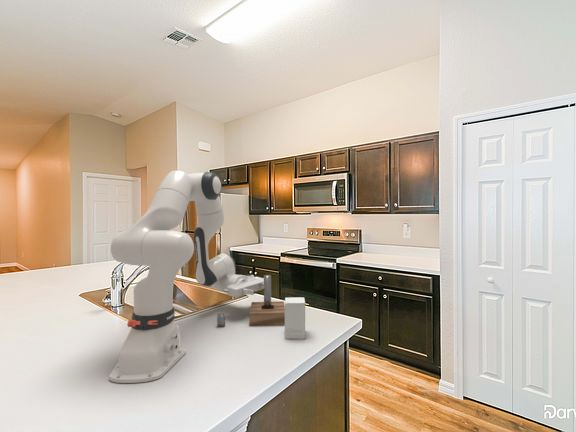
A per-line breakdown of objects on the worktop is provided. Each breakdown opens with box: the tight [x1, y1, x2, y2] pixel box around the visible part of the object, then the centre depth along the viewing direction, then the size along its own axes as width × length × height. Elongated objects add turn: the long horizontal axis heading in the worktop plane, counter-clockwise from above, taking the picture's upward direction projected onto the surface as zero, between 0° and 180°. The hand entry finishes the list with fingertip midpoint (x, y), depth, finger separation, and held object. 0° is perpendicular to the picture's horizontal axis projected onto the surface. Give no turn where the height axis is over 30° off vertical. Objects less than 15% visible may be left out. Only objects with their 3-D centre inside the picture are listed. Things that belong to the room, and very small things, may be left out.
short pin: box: [216, 312, 226, 328], centre depth 116 cm, size 3×3×4 cm
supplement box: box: [284, 296, 306, 340], centre depth 108 cm, size 7×7×13 cm
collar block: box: [248, 300, 285, 327], centre depth 123 cm, size 14×14×5 cm
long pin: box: [263, 274, 272, 309], centre depth 123 cm, size 3×3×18 cm
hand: (261, 289), depth 125 cm, fingers open, 8 cm apart
